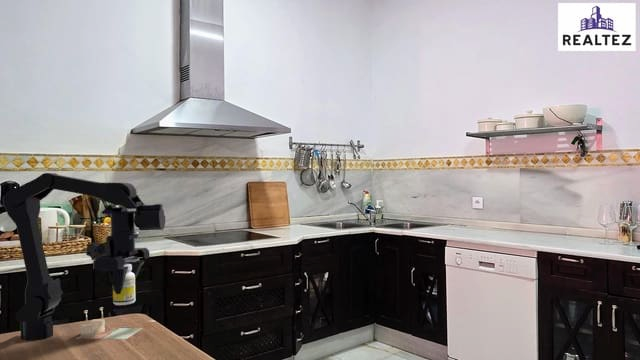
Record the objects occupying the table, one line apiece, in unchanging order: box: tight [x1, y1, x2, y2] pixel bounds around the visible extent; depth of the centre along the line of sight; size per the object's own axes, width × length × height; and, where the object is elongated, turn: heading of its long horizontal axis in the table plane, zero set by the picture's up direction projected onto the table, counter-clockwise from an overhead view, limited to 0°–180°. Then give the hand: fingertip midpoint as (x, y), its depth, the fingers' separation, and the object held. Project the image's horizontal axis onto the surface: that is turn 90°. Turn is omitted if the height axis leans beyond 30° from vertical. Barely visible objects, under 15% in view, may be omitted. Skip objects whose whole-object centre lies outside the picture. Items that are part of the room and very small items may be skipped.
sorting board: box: [75, 327, 143, 340], centre depth 124 cm, size 14×10×1 cm
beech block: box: [80, 319, 106, 338], centre depth 123 cm, size 6×3×3 cm, turn 176°
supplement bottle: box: [112, 264, 137, 306], centre depth 124 cm, size 5×5×10 cm
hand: (123, 291), depth 124 cm, fingers closed on supplement bottle, 5 cm apart
